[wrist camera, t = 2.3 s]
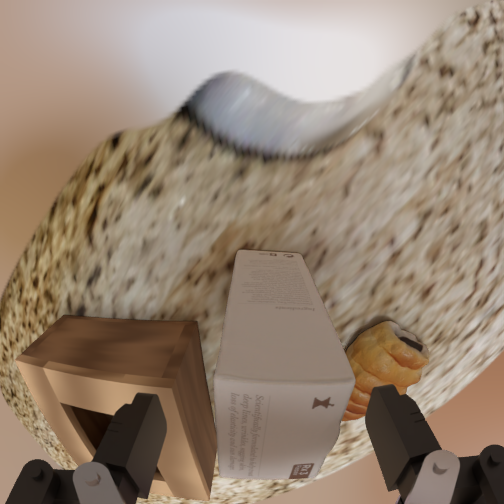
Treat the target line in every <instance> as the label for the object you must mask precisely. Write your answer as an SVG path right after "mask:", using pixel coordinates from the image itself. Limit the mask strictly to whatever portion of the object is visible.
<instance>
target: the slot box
mask: <svg viewBox="0 0 504 504" xmlns="http://www.w3.org/2000/svg"><path fill="white" fill-rule="evenodd" d="M15 362H16V364H17V366H18V368H19V370H20V372H21V374H22V376H23V378H24V380H25V382H26V384H27V386H28V388H29V390H30V392H31V394H32V396H33V398H34V399H35V401H36V403H37V405H38V407H39V408H40V410H41V412H42V413H43V415H44V417H45V418H46V420H47V422H48V423H49V425H50V427H51V428H52V430H53V431H54V433H55V434H56V436H57V437H58V439H59V440H60V442H61V443H62V445H63V446H64V448H65V449H66V450H67V452H68V453H69V455H70V456H71V457H72V459H73V460H74V461H75V463H76V464H77V465H78V466H80V465H81V464H83V463H86V462H91V461H92V459H93V457H94V455H95V453H96V451H97V449H98V447H99V445H100V443H101V441H102V439H103V437H104V435H105V433H106V431H107V428H108V426H109V424H110V423H111V420H112V418H113V416H114V414H115V412H116V411H117V410H118V409H119V408H120V407H122V406H123V405H124V404H125V403H126V404H131V403H132V401H133V399H134V397H135V395H136V394H137V393H138V392H141V393H150V394H157V395H158V397H159V399H160V403H161V406H162V409H163V412H164V415H165V418H166V421H167V433H166V437H165V440H164V444H163V447H162V450H161V454H160V457H159V460H158V464H157V467H156V471H155V474H154V478H153V481H152V485H151V488H150V493H155V494H160V495H166V496H172V497H179V498H186V499H194V500H203V501H209V500H210V493H211V486H212V480H213V473H214V466H215V459H216V453H217V436H216V429H215V424H214V419H213V413H212V408H211V403H210V397H209V392H208V386H207V381H206V375H205V369H204V363H203V356H202V350H201V343H200V337H199V330H198V323H197V322H193V321H152V320H129V319H111V318H96V317H83V316H71V315H63V316H62V317H61V318H60V319H59V320H58V321H56V322H55V323H54V324H53V325H52V326H51V327H50V328H49V329H47V330H46V331H45V332H44V333H43V334H42V335H41V336H40V337H39V338H38V339H37V340H35V341H34V342H33V343H32V344H31V345H30V346H29V347H28V348H27V349H26V350H25V351H24V352H23V353H22V354H21V355H20V356H18V357H17V358H16V359H15Z"/></svg>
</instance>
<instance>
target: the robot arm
mask: <svg viewBox="0 0 504 504" xmlns="http://www.w3.org/2000/svg"><path fill="white" fill-rule="evenodd" d="M365 424H366V428H367V431H368V434H369V437H370V439H371V442H372V445H373V448H374V451H375V453H376V456H377V459H378V462H379V465H380V468H381V471H382V474H383V477H384V480H385V483H386V486H387V489H388V491H392V490H396V489H398V490H399V492H400V496H399V497H398V499H397V501H396V503H395V504H504V447H502V446H500V445H490V446H488V447H486V448H484V450H483V451H482V452H481V453H480V455H478V456H469V457H457V456H456V455H455V454H454V453H452V452H450V451H447V450H442V448H441V447H440V445H439V443H438V441H437V439H436V438H435V436H434V434H433V432H432V430H431V429H430V427H429V425H428V423H427V421H425V418H424V416H423V414H422V413H421V411H420V409H419V407H418V405H417V404H416V402H415V401H414V400H413V399H411V398H410V397H409V396H408V395H406V394H404V395H400V394H399V392H398V391H397V389H396V387H395V386H394V385H393V384H388V385H383V386H377V387H374V388H373V389H372V392H371V396H370V400H369V404H368V407H367V411H366V415H365ZM166 433H167V421H166V418H165V415H164V412H163V409H162V406H161V403H160V399H159V397H158V395H157V394H150V393H141V392H138V393H137V394H136V395H135V397H134V399H133V401H132V403H131V404H126V403H125V404H124V405H123V406H122V407H120V408H119V409H118V410H117V411H116V412H115V414H114V416H113V418H112V420H111V423H110V424H109V426H108V428H107V431H106V433H105V435H104V437H103V439H102V441H101V443H100V445H99V447H98V449H97V451H96V453H95V455H94V457H93V459H92V461H91V462H86V463H83V464H81V465H80V466H78V467H77V468H76V470H57V469H53V468H52V467H51V466H50V464H48V463H47V462H46V461H44V460H40V459H35V460H32V461H29V462H28V463H27V464H25V466H24V467H23V469H22V471H21V473H20V475H19V477H18V479H17V481H16V482H15V484H14V487H13V489H12V491H11V493H10V495H9V497H8V499H7V501H6V503H5V504H136V501H137V497H139V498H144V499H148V495H149V492H150V488H151V485H152V481H153V478H154V474H155V471H156V467H157V464H158V460H159V457H160V454H161V450H162V447H163V444H164V440H165V437H166Z"/></svg>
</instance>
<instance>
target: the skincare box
mask: <svg viewBox="0 0 504 504" xmlns="http://www.w3.org/2000/svg"><path fill="white" fill-rule="evenodd" d="M355 381H356V379H355V376H354V373H353V371H352V368H351V366H350V363H349V361H348V358H347V356H346V354H345V351H344V349H343V346H342V344H341V342H340V339H339V337H338V335H337V333H336V330H335V328H334V326H333V324H332V321H331V319H330V317H329V315H328V312H327V310H326V308H325V306H324V303H323V301H322V299H321V297H320V294H319V292H318V290H317V288H316V285H315V283H314V281H313V279H312V277H311V274H310V272H309V270H308V268H307V266H306V263H305V261H304V259H303V257H302V255H301V254H299V253H287V252H272V251H257V250H238V251H237V253H236V258H235V264H234V270H233V275H232V281H231V285H230V291H229V296H228V302H227V307H226V313H225V318H224V324H223V331H222V337H221V345H220V352H219V356H218V360H217V365H216V370H215V374H214V377H213V386H214V402H215V419H216V436H217V452H218V464H219V475H220V476H221V477H227V478H236V479H300V478H314V477H316V476H317V475H318V473H319V471H320V469H321V467H322V465H323V463H324V460H325V458H326V456H327V454H328V453H329V452H330V451H331V450H332V448H333V447H334V445H335V443H336V441H337V439H338V436H339V433H340V423H341V421H342V418H343V416H344V413H345V410H346V407H347V405H348V402H349V399H350V396H351V394H352V391H353V388H354V385H355Z"/></svg>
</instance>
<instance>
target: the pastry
mask: <svg viewBox="0 0 504 504" xmlns="http://www.w3.org/2000/svg"><path fill="white" fill-rule="evenodd" d="M345 354H346V356H347V358H348V361H349V363H350V366H351V368H352V371H353V373H354V376H355V379H356V381H355V385H354V388H353V391H352V394H351V396H350V399H349V402H348V405H347V407H346V410H345V413H344V416H343V418H342V421H349V420H355V419H359V418H361V417H363V416H365V415H366V411H367V407H368V404H369V400H370V396H371V392H372V389H373V388H374V387H377V386H383V385H388V384H393V385H394V386H395V387H396V389H397V391H398V392H399V394H400V395H404V394H405V393H406V391H407V387H408V386H410V385H412V384H415V383H417V382H418V381H419V380H420V377H421V374H422V367H424V366H425V365H427V364H428V363H429V359H428V358H429V350H428V348H427V346H426V345H425V344H422V343H420V342H418V341H417V338H416V336H414V335H413V334H412V333H409V332H407V331H404V330H401V329H400V327H399V325H398V324H396V323H394V322H392V321H384V322H382V323H380V324H378V325H376V326H374V327H371V328H369V329H367V330H366V331H364V332H362V333H361V334H360V335H358V337H357V339H356V340H355V341H354V342H353V343H352V345H350V346H349V347H348V349H347V350H346V352H345Z"/></svg>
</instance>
